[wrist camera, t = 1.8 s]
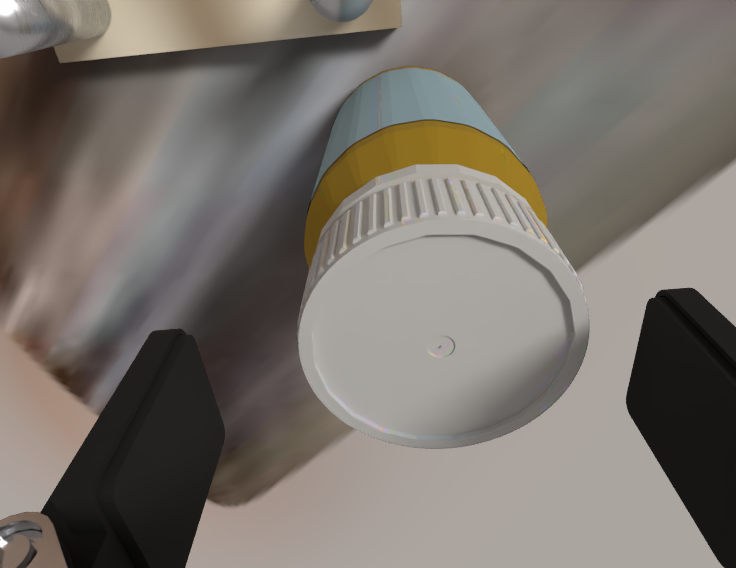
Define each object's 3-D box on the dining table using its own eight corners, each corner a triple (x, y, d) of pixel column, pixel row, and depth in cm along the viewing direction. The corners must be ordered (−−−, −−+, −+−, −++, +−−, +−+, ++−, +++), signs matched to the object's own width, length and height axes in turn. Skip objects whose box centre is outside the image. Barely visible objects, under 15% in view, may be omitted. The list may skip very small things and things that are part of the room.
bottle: (375, 236, 26) (371, 492, 13) (303, 112, 23) (207, 289, 10) (505, 176, 24) (647, 404, 11) (447, 31, 21) (554, 123, 8)
